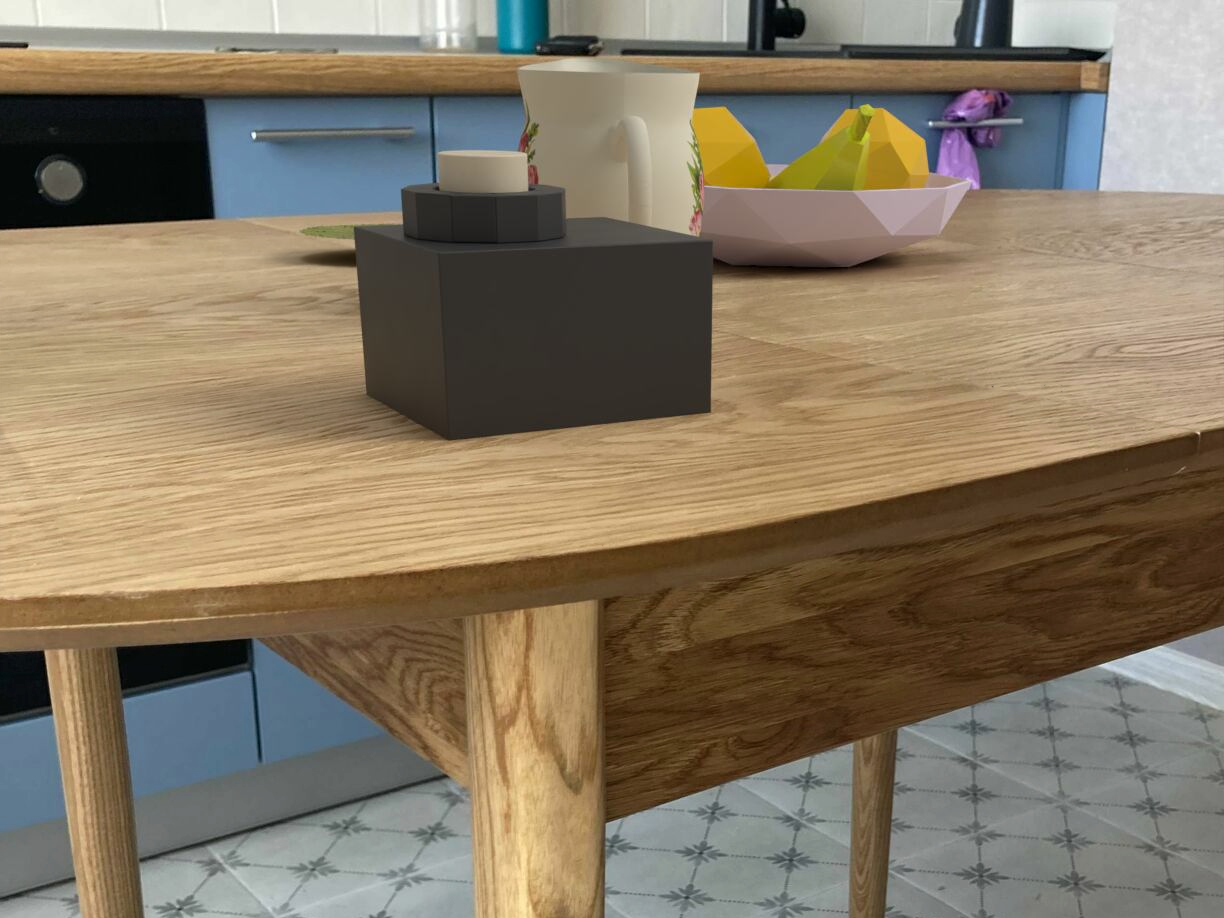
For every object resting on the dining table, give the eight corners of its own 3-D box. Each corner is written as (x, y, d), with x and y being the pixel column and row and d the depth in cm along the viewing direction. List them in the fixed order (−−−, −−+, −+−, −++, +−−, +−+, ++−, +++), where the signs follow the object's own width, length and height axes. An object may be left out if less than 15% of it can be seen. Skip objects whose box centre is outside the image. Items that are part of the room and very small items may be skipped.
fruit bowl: (629, 234, 130) (628, 88, 126) (951, 242, 130) (962, 96, 125) (589, 278, 105) (586, 97, 100) (989, 289, 104) (1005, 107, 99)
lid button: (459, 203, 61) (457, 156, 60) (426, 195, 64) (424, 150, 63) (542, 201, 63) (541, 154, 62) (507, 193, 65) (506, 149, 65)
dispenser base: (449, 442, 61) (435, 201, 57) (366, 395, 69) (349, 181, 65) (711, 413, 67) (714, 193, 63) (607, 373, 74) (604, 175, 71)
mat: (288, 251, 116) (286, 223, 115) (435, 246, 120) (434, 220, 119) (319, 269, 107) (316, 240, 106) (477, 264, 111) (475, 235, 110)
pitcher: (542, 339, 83) (533, 59, 77) (505, 291, 99) (496, 56, 93) (740, 335, 85) (746, 63, 79) (673, 289, 101) (674, 59, 95)
